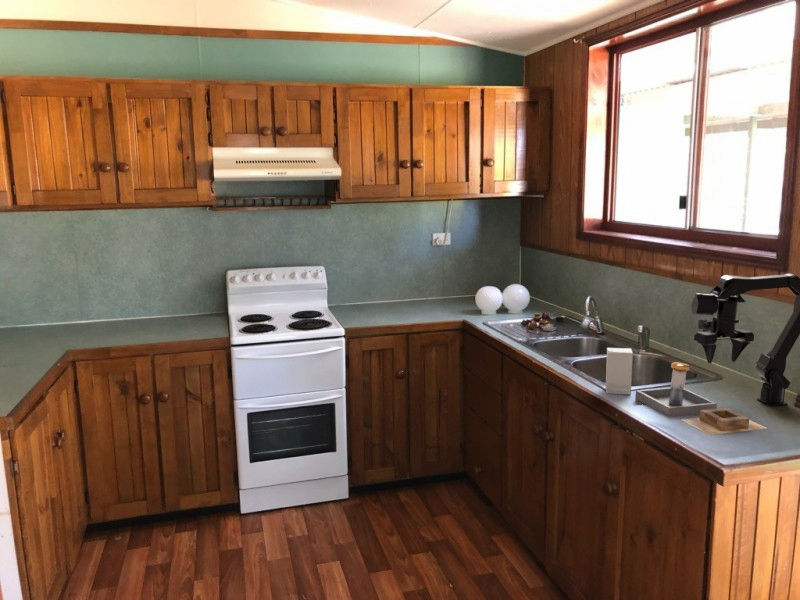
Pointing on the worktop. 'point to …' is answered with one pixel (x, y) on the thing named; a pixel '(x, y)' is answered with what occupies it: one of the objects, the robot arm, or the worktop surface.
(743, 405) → the worktop surface
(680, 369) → the pin
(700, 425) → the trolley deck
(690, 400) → the tray
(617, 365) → the skincare box
